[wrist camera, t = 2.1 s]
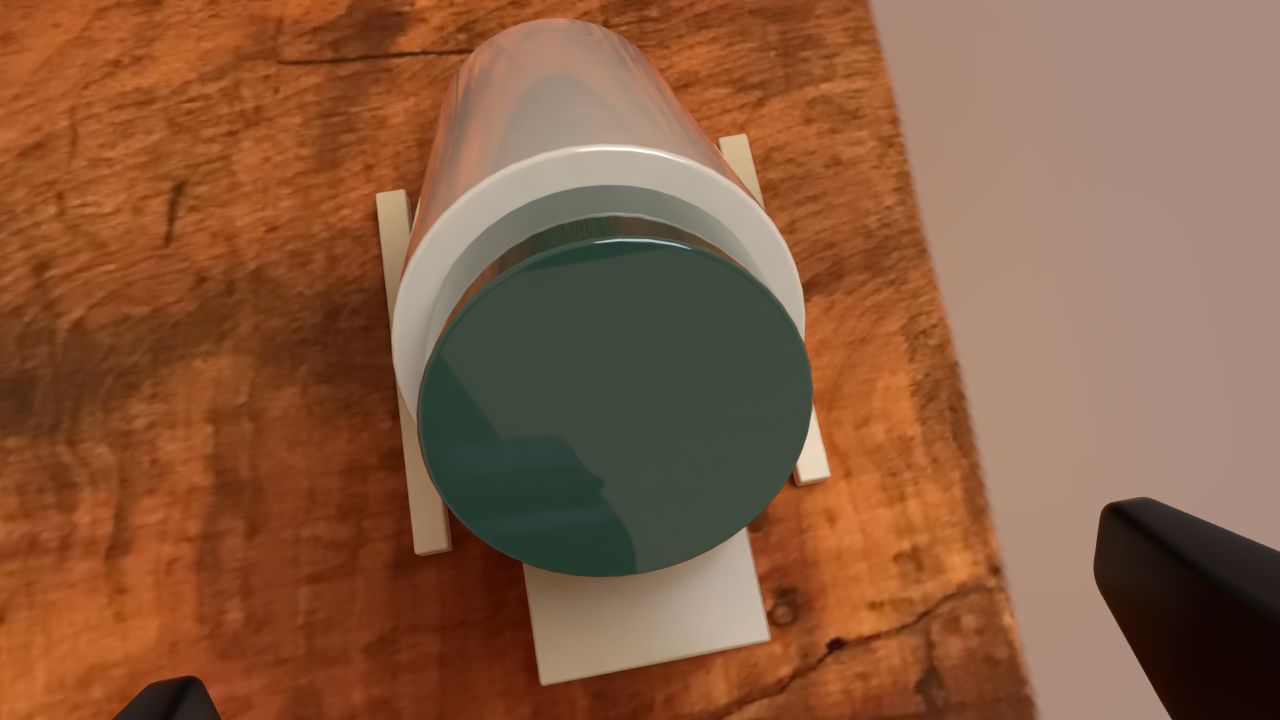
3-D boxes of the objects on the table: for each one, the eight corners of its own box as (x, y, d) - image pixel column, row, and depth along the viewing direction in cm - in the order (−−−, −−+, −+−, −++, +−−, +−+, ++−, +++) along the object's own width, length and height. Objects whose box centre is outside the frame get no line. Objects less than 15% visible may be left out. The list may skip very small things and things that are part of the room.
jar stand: (861, 619, 22) (942, 608, 16) (436, 702, 21) (360, 721, 15) (743, 140, 25) (774, -8, 20) (380, 200, 25) (303, 65, 19)
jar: (762, 571, 22) (932, 501, 10) (514, 618, 22) (354, 609, 9) (660, 99, 26) (687, -404, 13) (445, 133, 25) (261, -349, 13)
